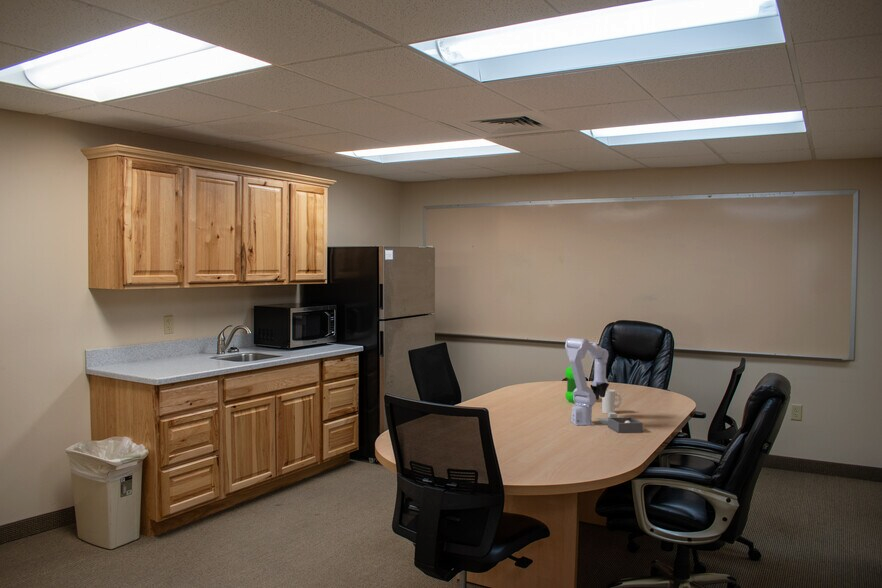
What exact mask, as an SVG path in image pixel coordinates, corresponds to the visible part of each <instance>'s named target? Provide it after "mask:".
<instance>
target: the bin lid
mask: <svg viewBox="0 0 882 588" xmlns="http://www.w3.org/2000/svg"><path fill="white" fill-rule="evenodd" d="M617 417H618V414H617V413H616V412H614V413H608V414H607V418H606V417H602V418H601V417H600V418H599V417H596V418H595V419H596V420H597V421H598V422H599V423H601V424H602V425H606V426H608V418H617Z"/></svg>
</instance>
